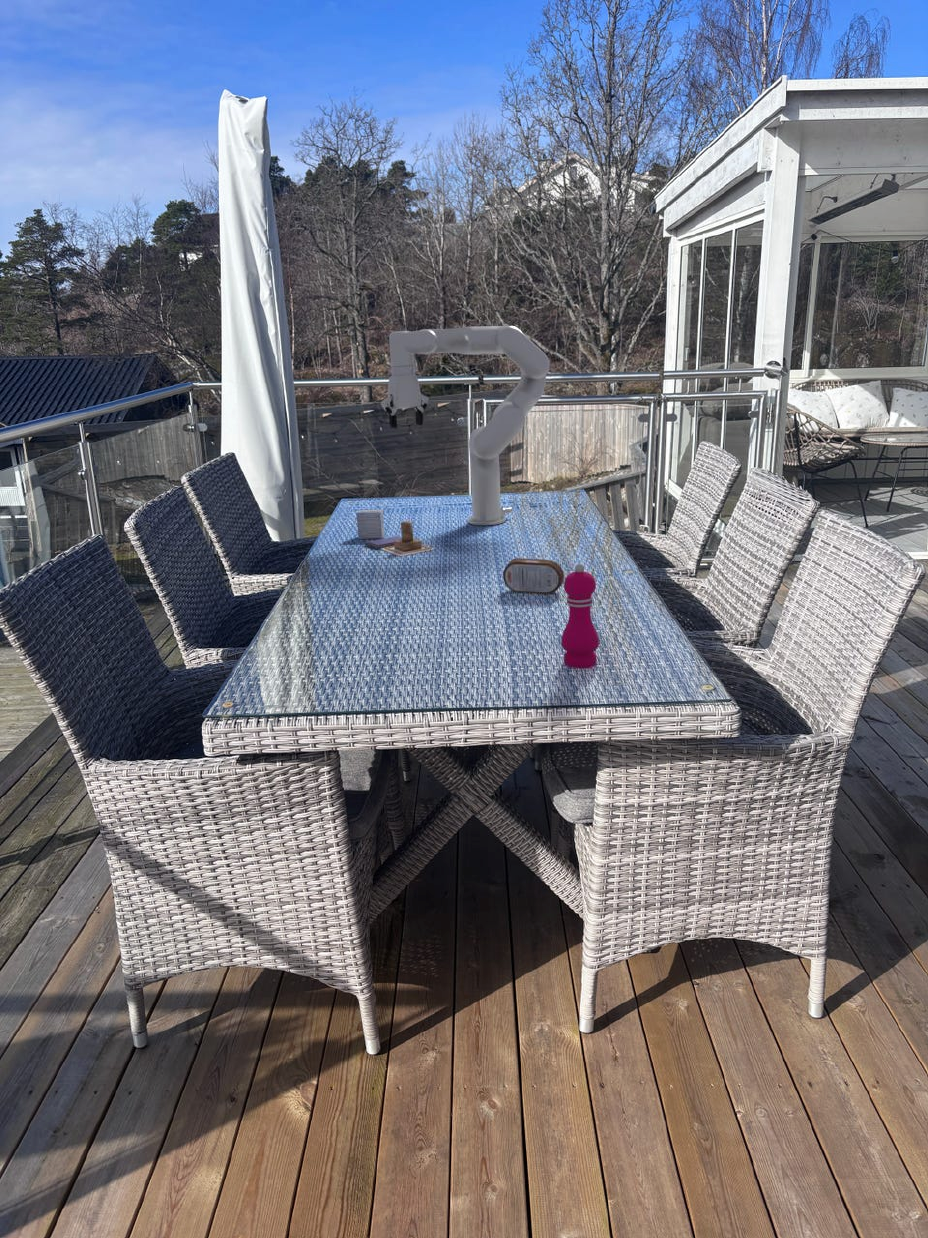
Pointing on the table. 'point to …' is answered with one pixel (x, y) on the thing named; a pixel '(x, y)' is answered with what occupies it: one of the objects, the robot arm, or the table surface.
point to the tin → (533, 576)
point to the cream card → (401, 553)
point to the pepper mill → (580, 620)
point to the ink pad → (382, 542)
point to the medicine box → (370, 524)
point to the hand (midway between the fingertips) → (406, 426)
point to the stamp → (407, 539)
